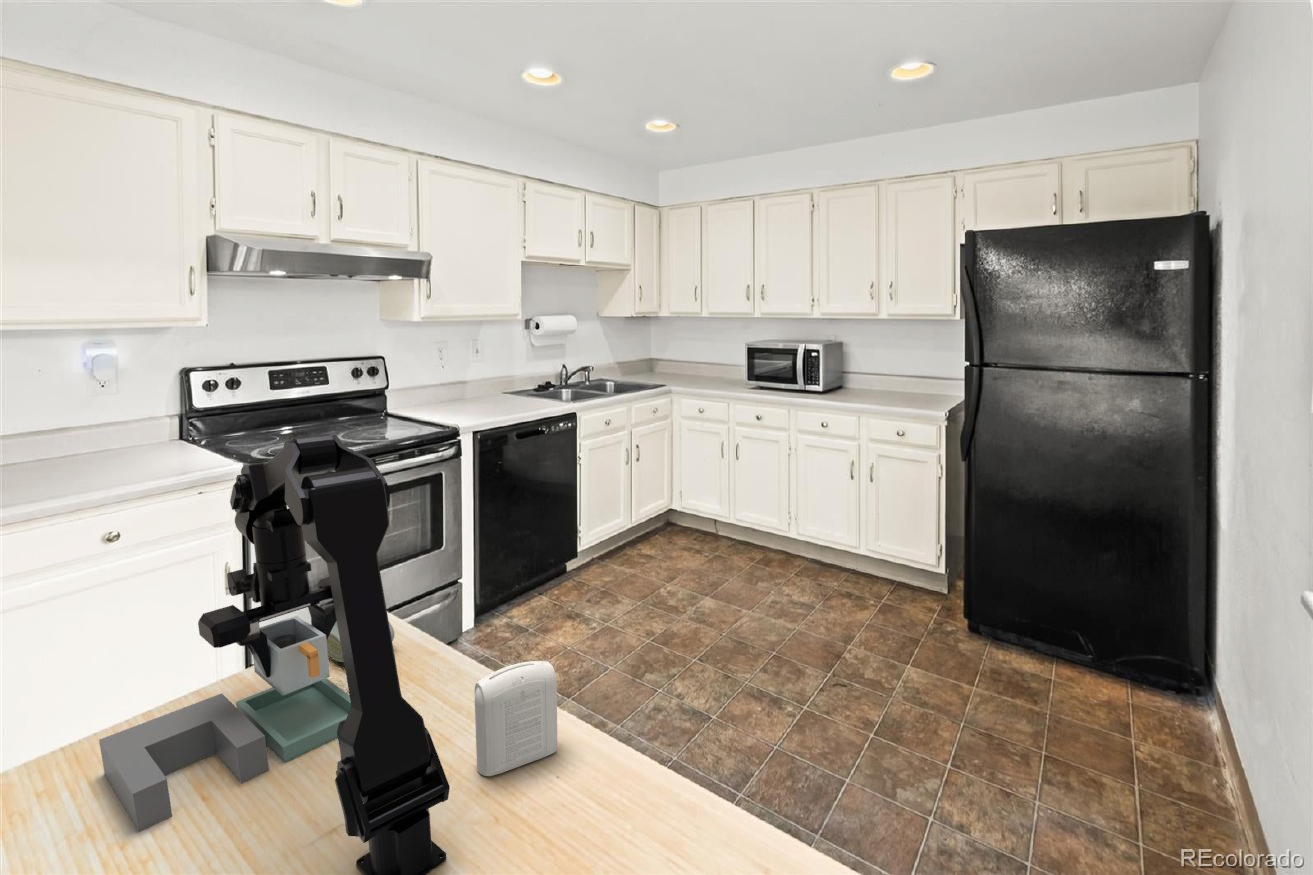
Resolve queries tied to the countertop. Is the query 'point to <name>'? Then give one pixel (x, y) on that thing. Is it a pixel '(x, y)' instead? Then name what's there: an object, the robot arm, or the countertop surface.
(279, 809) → the countertop surface
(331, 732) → the tray
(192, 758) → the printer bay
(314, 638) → the toner caddy
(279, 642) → the dark grey rounded piece
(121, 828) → the countertop surface
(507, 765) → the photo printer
